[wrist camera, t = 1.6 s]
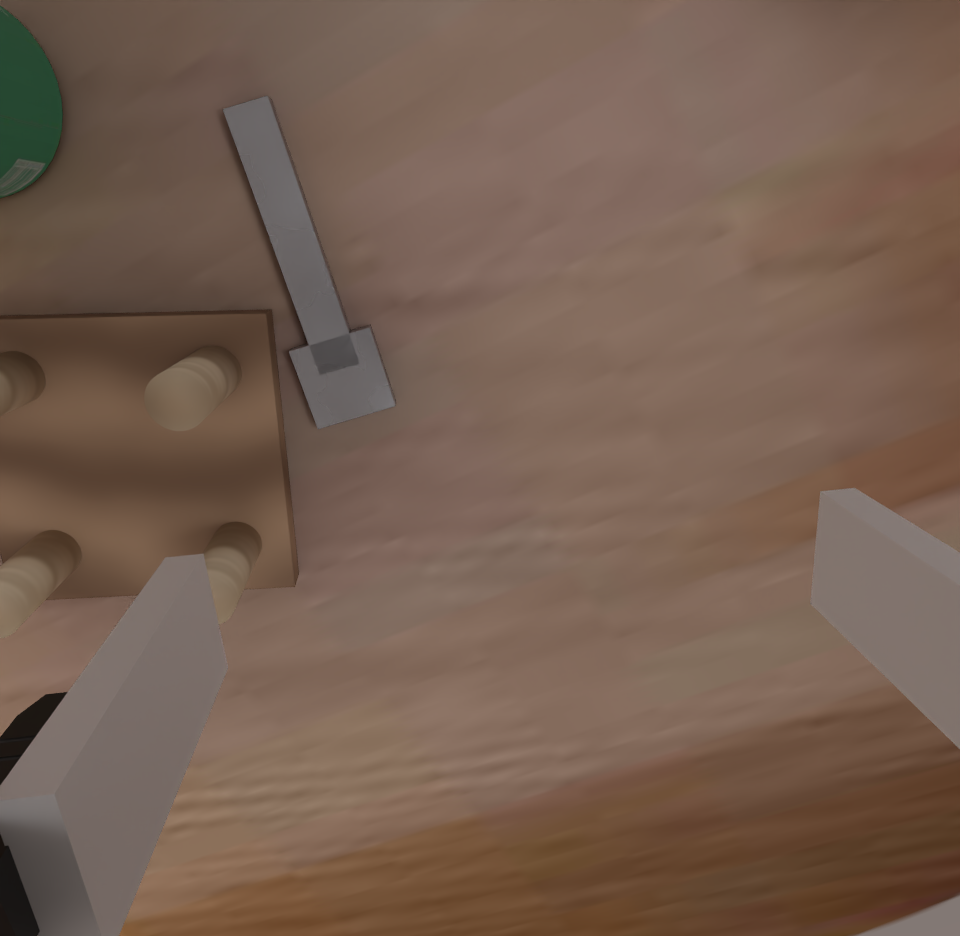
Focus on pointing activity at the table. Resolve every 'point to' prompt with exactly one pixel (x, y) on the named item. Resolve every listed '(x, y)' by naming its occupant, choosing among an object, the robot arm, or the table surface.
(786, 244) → the table surface
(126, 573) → the peg board
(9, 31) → the beverage can
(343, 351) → the grey square paddle
